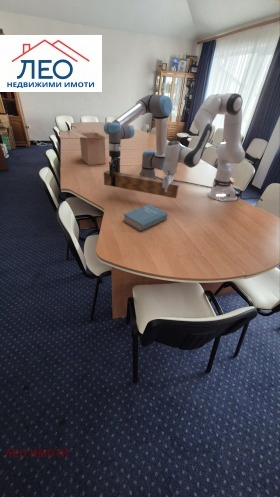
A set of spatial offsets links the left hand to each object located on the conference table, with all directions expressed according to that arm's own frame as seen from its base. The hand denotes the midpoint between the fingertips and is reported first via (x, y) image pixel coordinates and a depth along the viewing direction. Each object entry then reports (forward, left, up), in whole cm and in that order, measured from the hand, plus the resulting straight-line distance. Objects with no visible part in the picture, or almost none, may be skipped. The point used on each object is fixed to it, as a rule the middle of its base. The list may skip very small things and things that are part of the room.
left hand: (114, 184), depth 158 cm
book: (-19, +34, -10) cm, 40 cm away
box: (+22, -94, -10) cm, 97 cm away
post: (-17, +8, -1) cm, 19 cm away
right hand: (-35, +15, +3) cm, 38 cm away
